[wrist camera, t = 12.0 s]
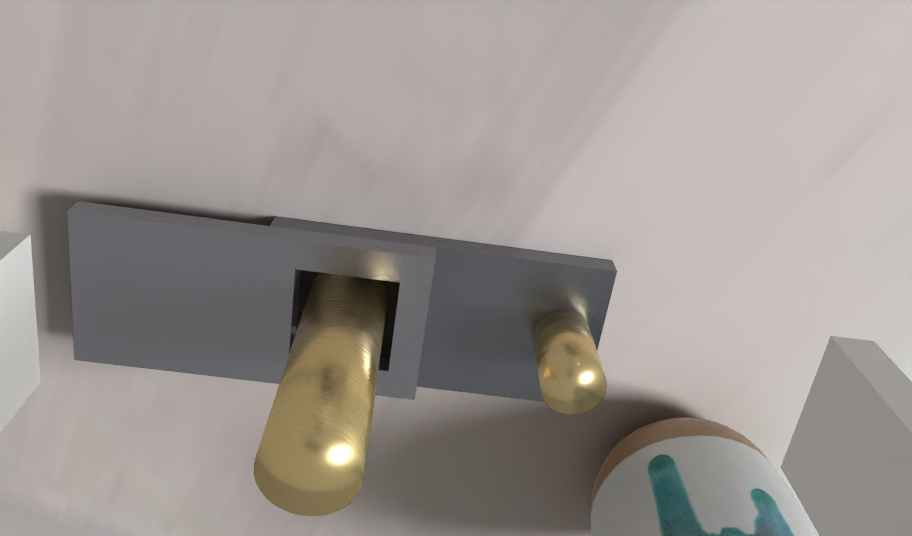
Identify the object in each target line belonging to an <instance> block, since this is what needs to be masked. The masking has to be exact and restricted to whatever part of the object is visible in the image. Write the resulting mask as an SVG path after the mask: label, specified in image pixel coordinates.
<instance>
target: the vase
mask: <svg viewBox="0 0 912 536" xmlns="http://www.w3.org/2000/svg"><path fill="white" fill-rule="evenodd" d="M590 522H591V536H818V535H817V533H816V531H815V530H814V528H813V526H812V524H811V523H810V521H809V519H808V517H807V516H806V514H805V512H804V510H803V508H802V507H801V505H800V504H799V502H798V500H797V499H796V497H795V496H794V494H793V492H792V491H791V490H790V488H789V487H788V485H787V484H786V482H785V481H784V479H783V478H782V477H781V475H780V474H779V472H778V471H777V470H776V468H775V467H774V466H773V465H772V464H771V462H770V461H769V460H768V459H767V458H766V456H765V455H764V454H763V453H762V452H761V451H760V449H759V448H757V447H756V446H755V445H754V444H753V443H752V442H750V441H749V440H748V439H747V438H745V437H744V436H743V435H741V434H739V433H738V432H736V431H734V430H732V429H730V428H729V427H727V426H724V425H721V424H719V423H716V422H713V421H709V420H704V419H699V418H688V417H682V418H670V419H665V420H660V421H657V422H654V423H651V424H648V425H645V426H643V427H641V428H639V429H637V430H635V431H634V432H632V433H631V434H629V435H628V436H626V437H625V438H624V439H622V440H621V441H620V442H619V443H618V444H617V445H616V446H615V447H614V448H613V449H612V450H611V452H610V453H609V454H608V455H607V457H606V458H605V460H604V462H603V463H602V465H601V467H600V468H599V471H598V473H597V476H596V479H595V481H594V484H593V489H592V494H591V501H590Z"/></svg>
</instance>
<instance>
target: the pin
mask: <svg viewBox="0 0 912 536" xmlns="http://www.w3.org/2000/svg"><path fill="white" fill-rule="evenodd" d="M386 309H387V292H386V289H385V286H384V284H383V282H382V281H381V280H376V279H368V278H361V277H353V276H345V275H337V274H329V273H319V275H318V276H317V277H316V278H315V280H314V281H313V283H312V285H311V289H310V292H309V295H308V298H307V301H306V304H305V307H304V310H303V313H302V316H301V319H300V323H299V326H298V329H297V332H296V335H295V338H294V341H293V344H292V347H291V350H290V353H289V356H288V360H287V363H286V366H285V369H284V372H283V375H282V378H281V381H280V384H279V387H278V390H277V394H276V397H275V400H274V403H273V406H272V409H271V412H270V415H269V418H268V421H267V424H266V427H265V431H264V434H263V437H262V440H261V443H260V446H259V449H258V452H257V455H256V458H255V462H254V476H255V480H256V483H257V485H258V487H259V489H260V490H261V492H262V493H263V495H264V496H265V497H266V498H267V499H268V500H269V501H271V502H272V503H273V504H275V505H276V506H278V507H279V508H281V509H283V510H285V511H288V512H291V513H294V514H298V515H305V516H320V515H326V514H330V513H333V512H336V511H338V510H340V509H342V508H344V507H346V506H347V505H348V504H350V503H351V502H352V501H353V500H354V499H355V498H356V496H357V495H358V493H359V492H360V490H361V487H362V485H363V480H364V473H365V466H366V458H367V451H368V444H369V436H370V429H371V421H372V414H373V406H374V399H375V391H376V384H377V376H378V369H379V361H380V354H381V346H382V339H383V331H384V324H385V316H386Z"/></svg>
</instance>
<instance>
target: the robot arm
mask: <svg viewBox="0 0 912 536" xmlns="http://www.w3.org/2000/svg"><path fill="white" fill-rule="evenodd" d="M40 383H41V379H40V364H39V350H38V336H37V322H36V307H35V293H34V279H33V264H32V250H31V236H30V234H22V233H14V232H6V231H0V433H1V431H2V430H3V429H4V428H5V426H6V425H7V424H8V423H9V421H10V420H11V419H12V418H13V416H14V415H15V414H16V413H17V411H18V410H19V409H20V408H21V406H22V405H23V404H24V403H25V401H26V400H27V399H28V398H29V396H30V395H31V394H32V393H33V391H34V390H35V389H36V388H37V386H38V385H39V384H40ZM781 469H782V470H783V472H784V474H785V476H786V477H787V479H788V481H789V483H790V484H791V486H792V488H793V490H794V491H795V493H796V495H797V497H798V499H799V500H800V502H801V504H802V506H803V507H804V509H805V511H806V513H807V514H808V516H809V518H810V520H811V521H812V523H813V525H814V527H815V528H816V530H817V532H818V534H819V536H912V382H911V381H910V380H909V379H908V378H907V377H906V375H905V374H904V373H903V372H902V371H901V370H900V369H899V368H898V367H897V366H896V365H895V363H894V362H893V361H892V360H891V359H890V358H889V357H888V356H887V355H886V354H885V353H884V352H883V350H882V349H881V348H880V347H879V346H878V345H877V344H876V343H875V342H874V341H866V340H858V339H851V338H843V337H835V336H831V337H830V339H829V342H828V345H827V347H826V350H825V352H824V355H823V358H822V360H821V363H820V366H819V368H818V371H817V373H816V376H815V379H814V381H813V384H812V387H811V389H810V392H809V394H808V397H807V400H806V402H805V405H804V408H803V410H802V413H801V415H800V418H799V421H798V423H797V426H796V429H795V431H794V434H793V437H792V439H791V442H790V444H789V447H788V450H787V452H786V455H785V458H784V460H783V463H782V465H781Z"/></svg>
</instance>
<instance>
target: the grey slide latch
mask: <svg viewBox="0 0 912 536" xmlns="http://www.w3.org/2000/svg"><path fill="white" fill-rule="evenodd" d="M67 218H68V238H69V258H70V278H71V299H72V319H73V339H74V359H75V360H80V361H88V362H97V363H105V364H114V365H122V366H131V367H140V368H148V369H157V370H165V371H174V372H182V373H191V374H199V375H208V376H217V377H225V378H234V379H242V380H251V381H259V382H268V383H276V384H280V381H281V378H282V375H283V372H284V369H285V366H286V363H287V360H288V356H289V353H290V350H291V347H292V344H293V341H294V338H295V335H296V332H297V324H298V311H299V298H300V285H301V272H302V270H305V271H313V272H321V273H329V274H337V275H345V276H353V277H361V278H368V279H376V280H384V281H392V282H400V285H399V292H398V300H397V308H396V315H395V323H394V330H393V338H392V345H391V346H386V345H382V346H381V354H380V361H379V369H378V376H377V384H376V391H375V395H379V396H388V397H396V398H405V399H413V400H414V399H415V392H416V386H417V387H426V388H434V389H443V390H451V391H460V392H468V393H477V394H485V395H494V396H502V397H511V398H519V399H527V400H536V401H544V402H546V403H547V405H548V406H549V407H550V408H552V409H553V410H555V411H557V412H559V413H562V414H567V415H576V414H581V413H585V412H587V411H589V410H591V409H593V408H594V407H596V406H597V405H598V404H599V403H600V402H601V400H602V399H603V397H604V395H605V392H606V388H607V383H606V378H605V375H604V372H603V369H602V366H601V362H600V359H599V356H598V353H597V349H598V345H599V341H600V337H601V333H602V329H603V325H604V321H605V317H606V313H607V309H608V305H609V301H610V297H611V293H612V289H613V285H614V281H615V277H616V273H617V270H616V268H615V266H614V263H613V261H611V260H603V259H596V258H588V257H580V256H573V255H565V254H557V253H550V252H542V251H534V250H527V249H519V248H512V247H504V246H496V245H489V244H481V243H473V242H466V241H458V240H450V239H443V238H435V237H427V236H420V235H412V234H405V233H397V232H389V231H382V230H374V229H366V228H359V227H351V226H343V225H336V224H328V223H320V222H313V221H305V220H298V219H290V218H282V217H274V219H273V221H272V223H271V225H270V226H266V225H258V224H250V223H243V222H235V221H227V220H220V219H212V218H204V217H196V216H189V215H181V214H173V213H166V212H158V211H150V210H143V209H135V208H127V207H120V206H112V205H104V204H96V203H89V202H81V201H77V202H76V203H75V204H74V205H73V206H72V207H71V208H70V209H68V210H67Z"/></svg>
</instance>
